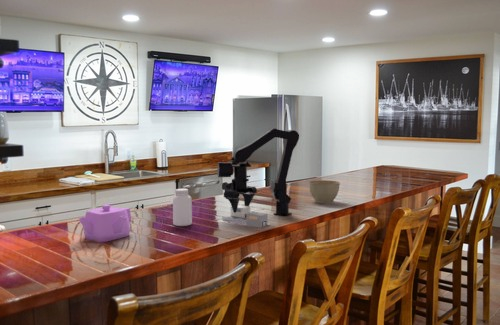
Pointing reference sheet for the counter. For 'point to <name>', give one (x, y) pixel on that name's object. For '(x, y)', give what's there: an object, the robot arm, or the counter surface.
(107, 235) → the teakettle
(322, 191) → the planter bowl
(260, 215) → the mounted module
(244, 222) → the rail
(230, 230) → the counter surface
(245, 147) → the robot arm
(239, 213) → the block
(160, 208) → the counter surface
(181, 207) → the pill bottle
